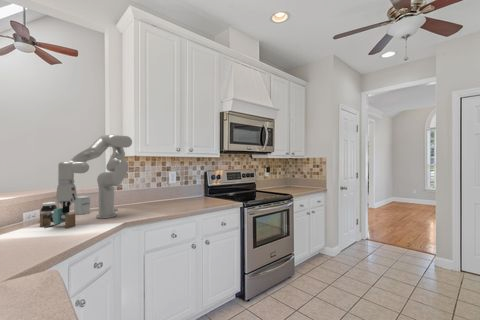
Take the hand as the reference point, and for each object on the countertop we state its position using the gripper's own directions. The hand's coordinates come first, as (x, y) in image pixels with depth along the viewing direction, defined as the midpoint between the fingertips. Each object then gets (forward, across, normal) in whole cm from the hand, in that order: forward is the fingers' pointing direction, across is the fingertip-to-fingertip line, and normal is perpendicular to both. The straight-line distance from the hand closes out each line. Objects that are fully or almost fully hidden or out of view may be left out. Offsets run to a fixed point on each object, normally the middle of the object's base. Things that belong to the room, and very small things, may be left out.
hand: (66, 212), depth 141 cm
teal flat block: (+6, +3, 0) cm, 7 cm away
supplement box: (+9, +20, -32) cm, 39 cm away
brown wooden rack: (+9, +6, 0) cm, 10 cm away
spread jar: (+9, +23, -11) cm, 27 cm away
